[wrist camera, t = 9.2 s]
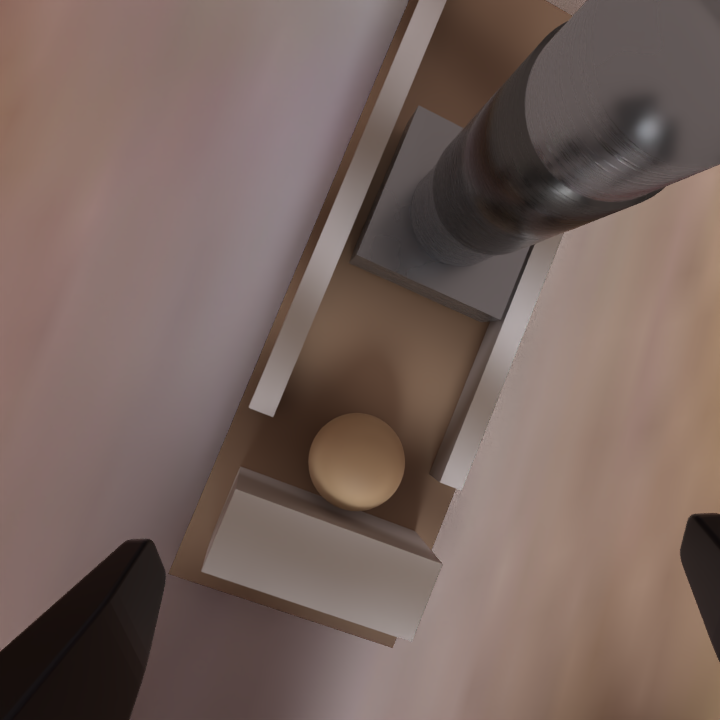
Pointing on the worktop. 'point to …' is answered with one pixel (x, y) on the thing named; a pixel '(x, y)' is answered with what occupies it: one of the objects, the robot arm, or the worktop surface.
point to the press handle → (549, 151)
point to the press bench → (369, 372)
